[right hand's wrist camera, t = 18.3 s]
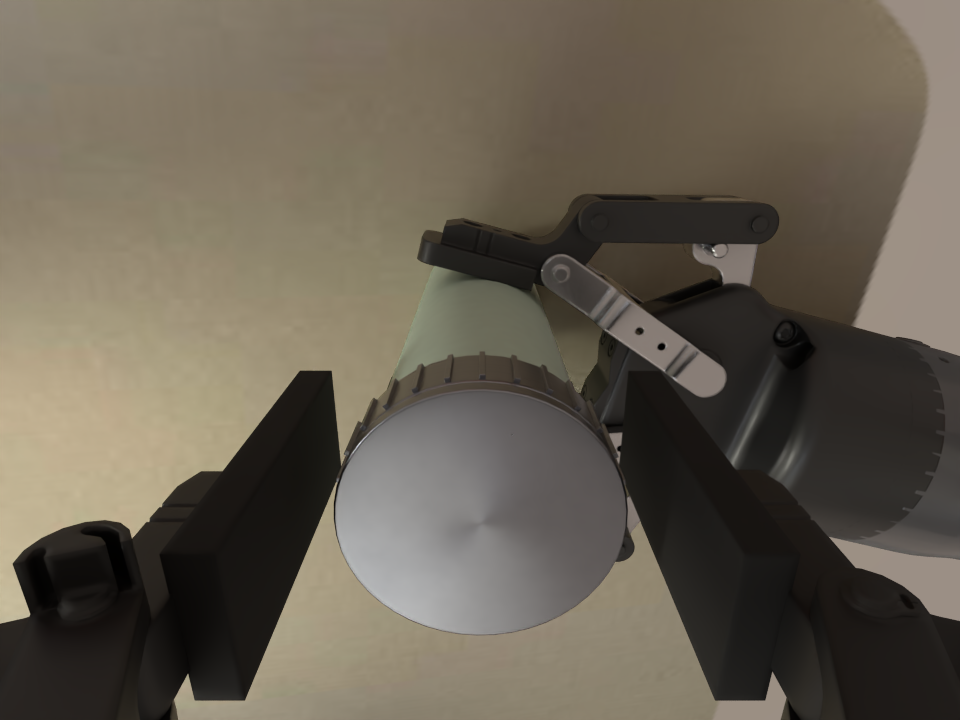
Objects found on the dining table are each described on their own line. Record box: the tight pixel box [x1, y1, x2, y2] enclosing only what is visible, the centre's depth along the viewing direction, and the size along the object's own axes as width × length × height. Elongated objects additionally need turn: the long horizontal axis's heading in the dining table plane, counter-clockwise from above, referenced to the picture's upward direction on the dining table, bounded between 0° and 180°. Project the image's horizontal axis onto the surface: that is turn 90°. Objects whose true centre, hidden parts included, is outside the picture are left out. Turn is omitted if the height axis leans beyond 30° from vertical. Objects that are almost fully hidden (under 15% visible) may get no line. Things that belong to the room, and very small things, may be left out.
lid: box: [334, 351, 628, 635], centre depth 11 cm, size 6×6×2 cm
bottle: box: [388, 266, 570, 389], centre depth 19 cm, size 5×5×16 cm
